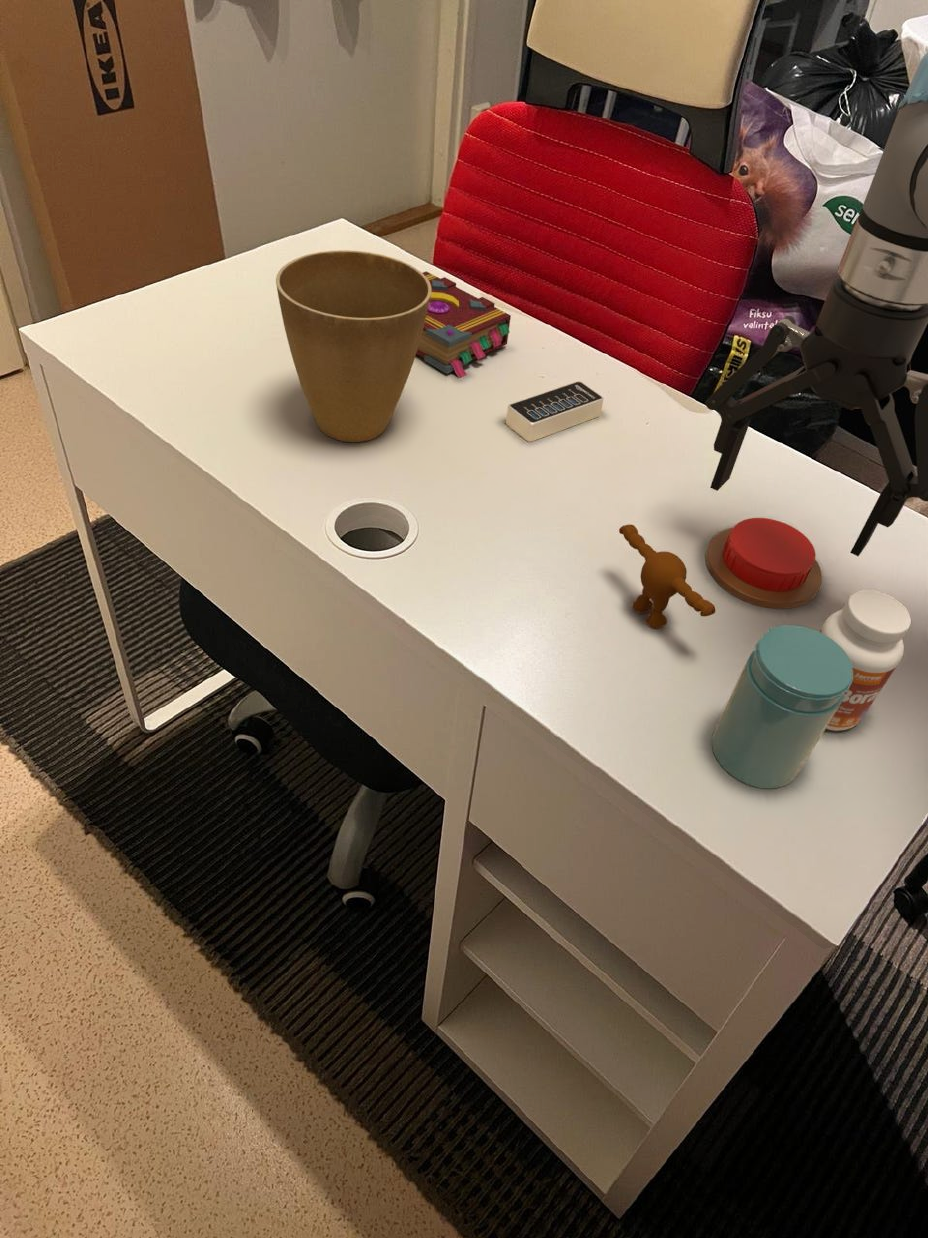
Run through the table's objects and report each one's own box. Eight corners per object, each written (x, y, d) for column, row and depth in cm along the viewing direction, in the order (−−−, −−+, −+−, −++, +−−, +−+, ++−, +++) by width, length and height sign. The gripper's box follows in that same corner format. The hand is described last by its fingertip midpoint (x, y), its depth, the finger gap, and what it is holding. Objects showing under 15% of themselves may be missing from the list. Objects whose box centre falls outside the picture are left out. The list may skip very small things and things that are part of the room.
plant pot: (394, 477, 92) (400, 332, 81) (260, 442, 94) (248, 295, 83) (439, 405, 102) (451, 267, 91) (318, 374, 104) (314, 236, 93)
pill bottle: (819, 742, 72) (876, 649, 65) (772, 686, 76) (821, 592, 68) (877, 721, 75) (939, 629, 67) (829, 668, 78) (882, 575, 71)
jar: (818, 772, 70) (877, 680, 63) (747, 800, 68) (799, 708, 60) (762, 706, 75) (811, 613, 67) (694, 731, 72) (736, 636, 64)
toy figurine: (708, 653, 78) (732, 597, 74) (675, 666, 77) (697, 609, 72) (627, 567, 85) (644, 511, 81) (595, 578, 84) (610, 521, 79)
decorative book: (424, 301, 119) (427, 264, 116) (515, 351, 112) (521, 313, 109) (360, 326, 113) (361, 288, 110) (452, 380, 106) (456, 341, 103)
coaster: (842, 594, 86) (846, 588, 85) (749, 620, 82) (752, 613, 81) (772, 523, 92) (775, 517, 92) (683, 544, 89) (685, 537, 88)
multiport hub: (503, 422, 101) (506, 404, 99) (576, 397, 106) (579, 379, 104) (528, 442, 99) (531, 424, 97) (601, 415, 104) (605, 398, 102)
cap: (782, 532, 90) (790, 514, 89) (823, 587, 85) (832, 569, 83) (708, 538, 88) (715, 520, 87) (745, 596, 83) (753, 577, 81)
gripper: (712, 249, 70) (648, 475, 84) (1049, 368, 60) (910, 598, 75) (751, 224, 74) (683, 442, 89) (1070, 331, 65) (935, 555, 80)
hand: (787, 514), depth 82 cm, fingers open, 13 cm apart
